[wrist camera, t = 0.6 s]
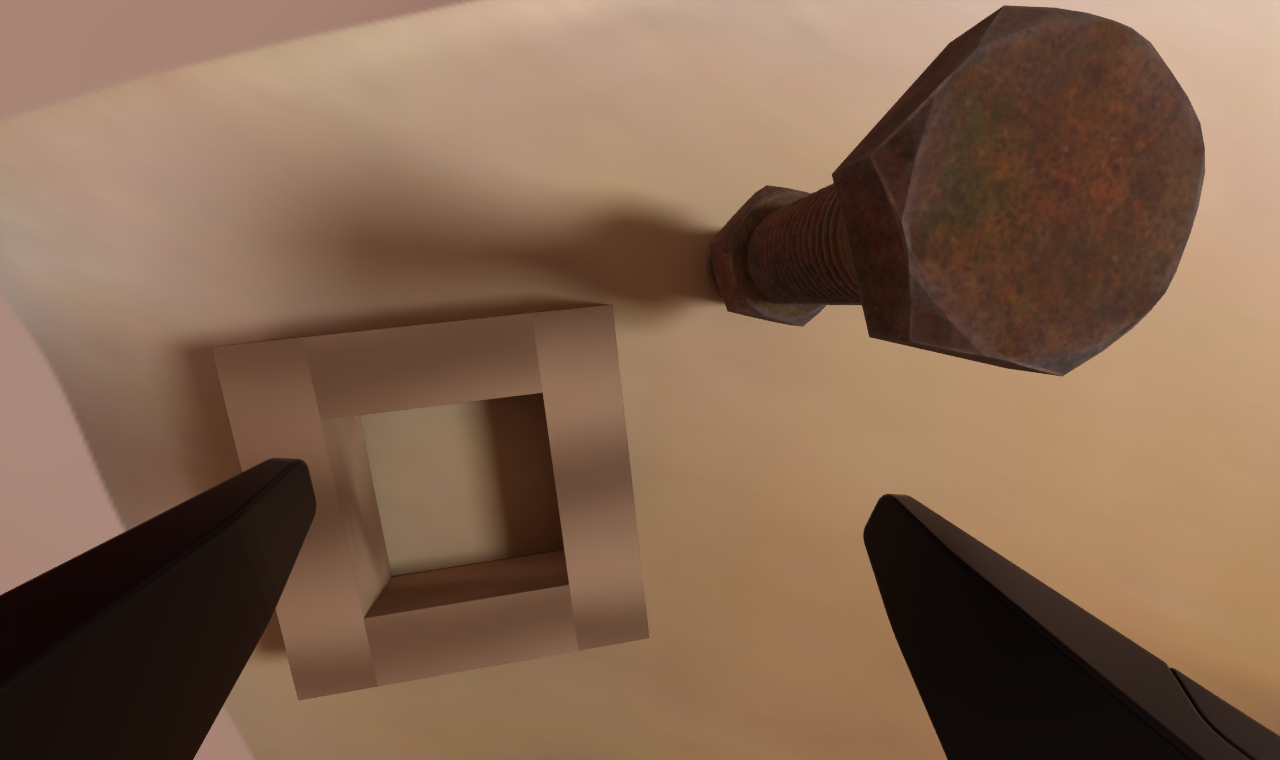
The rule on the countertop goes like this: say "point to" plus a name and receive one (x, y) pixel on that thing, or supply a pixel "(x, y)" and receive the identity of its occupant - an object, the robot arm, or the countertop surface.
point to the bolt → (992, 201)
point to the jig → (348, 514)
